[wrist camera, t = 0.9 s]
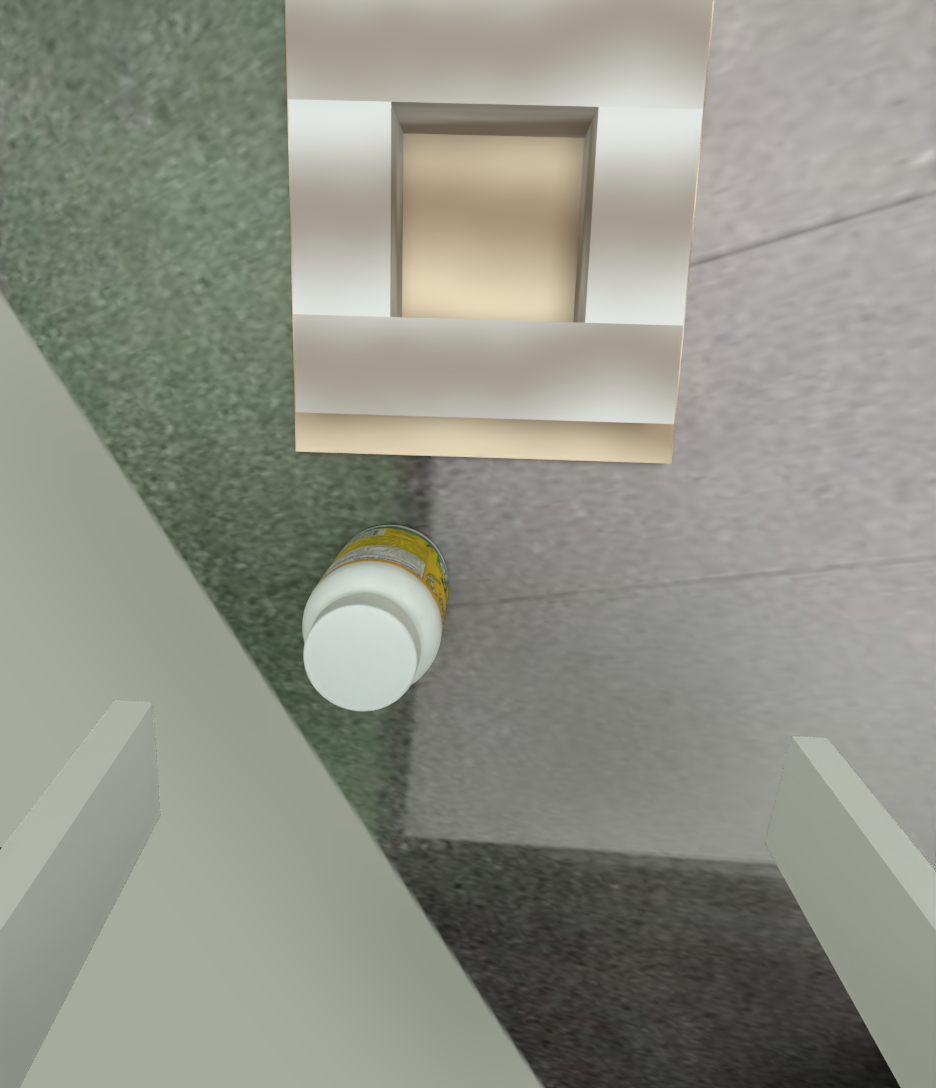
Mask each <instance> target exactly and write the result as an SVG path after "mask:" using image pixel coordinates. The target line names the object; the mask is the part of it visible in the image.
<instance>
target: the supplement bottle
mask: <svg viewBox="0 0 936 1088" xmlns="http://www.w3.org/2000/svg"><path fill="white" fill-rule="evenodd" d="M448 594H449V576H448V571H447V568H446V565H445V562H444V559H443V557H442V555H441V553H440V551H439V550H438V548H437V547H436V546H435V544H434V543H433V542H432V541H431V540H430V539H429V538H427V537H426V536H425V535H423V534H422V533H420V532H418V531H416V530H414V529H411V528H408V527H405V526H401V525H380V526H375V527H372V528H369V529H366V530H364V531H362V532H360V533H359V534H357V535H356V536H354V537H353V538H352V539H351V540H350V541H349V542H348V543H347V544H346V545H345V546H344V548H343V549H342V550H341V551H340V553H339V554H338V556H337V557H336V559H335V560H334V562H333V563H332V565H331V566H330V567H329V569H328V570H327V572H326V573H325V574H324V576H323V577H322V578H321V580H320V581H319V583H318V584H317V586H316V587H315V589H314V590H313V592H312V593H311V595H310V597H309V599H308V601H307V604H306V607H305V610H304V615H303V622H302V630H303V638H304V643H305V644H304V653H303V658H304V666H305V670H306V673H307V675H308V678H309V680H310V681H311V683H312V685H313V686H314V687H315V689H316V690H317V691H318V692H319V693H320V694H321V695H322V696H323V697H324V698H326V699H327V700H328V701H330V702H331V703H333V704H335V705H337V706H339V707H342V708H345V709H348V710H353V711H373V710H378V709H381V708H384V707H386V706H389V705H390V704H392V703H394V702H395V701H397V700H398V699H399V698H400V697H401V696H402V695H403V694H404V693H405V692H406V691H407V690H408V688H409V687H410V685H412V684H413V683H415V682H416V681H417V680H419V679H420V678H421V677H422V676H423V675H424V674H425V672H426V671H427V670H428V669H429V667H430V666H431V664H432V663H433V661H434V659H435V657H436V655H437V653H438V650H439V647H440V643H441V637H442V631H443V624H444V618H445V612H446V606H447V599H448Z"/></svg>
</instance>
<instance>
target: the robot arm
mask: <svg viewBox="0 0 936 1088" xmlns="http://www.w3.org/2000/svg"><path fill="white" fill-rule="evenodd" d="M157 771H158V770H157V755H156V738H155V723H154V708H153V702H137V701H118V700H114V701H113V703H112V704H111V705H110V707H109V708H108V709H107V711H106V712H105V713H104V714H103V716H102V717H101V718H100V720H99V721H98V722H97V724H96V725H95V726H94V728H93V729H92V730H91V731H90V733H89V734H88V735H87V737H86V738H85V739H84V741H83V742H82V743H81V745H80V746H79V747H78V749H77V750H76V751H75V753H74V754H73V755H72V756H71V758H70V759H69V760H68V762H67V763H66V764H65V766H64V767H63V768H62V770H61V771H60V772H59V774H58V775H57V776H56V777H55V779H54V780H53V781H52V783H51V784H50V785H49V787H48V788H47V789H46V791H45V792H44V793H43V794H42V796H41V797H40V798H39V800H38V801H37V802H36V804H35V805H34V806H33V808H32V809H31V810H30V812H29V813H28V814H27V815H26V817H25V818H24V819H23V821H22V822H21V824H20V825H19V826H18V827H17V829H16V830H15V831H14V833H13V834H12V835H11V836H10V838H9V839H8V840H7V842H6V843H5V844H4V846H3V847H2V848H0V1088H20V1086H21V1084H22V1082H23V1080H24V1078H25V1076H26V1074H27V1072H28V1071H29V1069H30V1067H31V1065H32V1063H33V1061H34V1059H35V1057H36V1055H37V1053H38V1051H39V1049H40V1047H41V1045H42V1044H43V1041H44V1040H45V1038H46V1036H47V1034H48V1032H49V1030H50V1028H51V1026H52V1024H53V1022H54V1020H55V1019H56V1016H57V1014H58V1013H59V1011H60V1009H61V1007H62V1005H63V1003H64V1001H65V999H66V997H67V995H68V993H69V991H70V990H71V988H72V986H73V984H74V982H75V980H76V978H77V976H78V974H79V972H80V970H81V968H82V966H83V964H84V962H85V961H86V959H87V957H88V955H89V953H90V951H91V949H92V947H93V945H94V943H95V941H96V939H97V937H98V935H99V933H100V932H101V929H102V928H103V926H104V924H105V922H106V920H107V918H108V916H109V914H110V912H111V910H112V908H113V906H114V905H115V903H116V901H117V899H118V897H119V895H120V893H121V891H122V889H123V887H124V885H125V883H126V881H127V879H128V877H129V876H130V873H131V872H132V870H133V868H134V866H135V864H136V862H137V860H138V858H139V856H140V854H141V852H142V850H143V849H144V846H145V845H146V843H147V841H148V839H149V837H150V835H151V833H152V831H153V829H154V827H155V825H156V823H157V821H158V820H159V818H160V803H159V786H158V772H157ZM765 845H766V846H767V848H768V850H769V852H770V854H771V855H772V857H773V859H774V861H775V863H776V864H777V866H778V868H779V870H780V872H781V873H782V875H783V877H784V879H785V881H786V882H787V884H788V886H789V888H790V890H791V891H792V893H793V895H794V897H795V899H796V900H797V902H798V904H799V906H800V908H801V909H802V911H803V913H804V915H805V917H806V918H807V920H808V922H809V924H810V926H811V927H812V929H813V931H814V933H815V935H816V936H817V938H818V940H819V942H820V944H821V945H822V947H823V949H824V951H825V953H826V954H827V956H828V958H829V960H830V962H831V963H832V965H833V967H834V969H835V971H836V972H837V974H838V976H839V978H840V980H841V981H842V983H843V985H844V987H845V988H846V990H847V992H848V994H849V996H850V997H851V999H852V1001H853V1003H854V1005H855V1006H856V1008H857V1010H858V1012H859V1014H860V1015H861V1017H862V1019H863V1021H864V1023H865V1024H866V1026H867V1028H868V1030H869V1032H870V1033H871V1035H872V1037H873V1039H874V1041H875V1042H876V1044H877V1046H878V1048H879V1050H880V1051H881V1053H882V1055H883V1057H884V1059H885V1060H886V1062H887V1064H888V1066H889V1068H890V1069H891V1071H892V1073H893V1075H894V1077H895V1078H896V1080H897V1082H898V1084H899V1086H900V1087H901V1088H936V871H935V870H934V869H933V867H932V866H931V865H930V864H929V863H928V861H927V860H926V859H925V858H924V856H923V855H922V854H921V853H920V851H919V850H918V849H917V848H916V847H915V845H914V844H913V843H912V842H911V840H910V839H909V838H908V837H907V835H906V834H905V833H904V832H903V831H902V829H901V828H900V827H899V826H898V824H897V823H896V822H895V821H894V819H893V818H892V817H891V816H890V815H889V813H888V812H887V811H886V810H885V808H884V807H883V806H882V805H881V804H880V802H879V801H878V800H877V799H876V797H875V796H874V795H873V794H872V792H871V791H870V790H869V789H868V788H867V786H866V785H865V784H864V783H863V781H862V780H861V779H860V778H859V776H858V775H857V774H856V773H855V772H854V770H853V769H852V768H851V767H850V765H849V764H848V763H847V762H846V760H845V759H844V758H843V757H842V756H841V754H840V753H839V752H838V751H837V749H836V748H835V747H834V746H833V744H832V743H831V742H830V741H829V740H828V738H821V737H802V736H791V740H790V744H789V748H788V752H787V756H786V760H785V764H784V768H783V772H782V776H781V780H780V784H779V788H778V792H777V796H776V800H775V804H774V808H773V812H772V816H771V820H770V824H769V828H768V832H767V836H766V840H765Z"/></svg>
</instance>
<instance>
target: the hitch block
mask: <svg viewBox="0 0 936 1088" xmlns="http://www.w3.org/2000/svg"><path fill="white" fill-rule="evenodd" d="M713 9H714V0H285V29H286V70H287V111H288V152H289V192H290V233H291V274H292V315H293V356H294V396H295V437H296V452H326V453H358V454H389V455H420V456H451V457H483V458H514V459H545V460H576V461H607V462H639V463H670V464H672V453H673V442H674V431H675V420H676V410H677V399H678V388H679V377H680V366H681V355H682V345H683V334H684V323H685V312H686V301H687V291H688V280H689V269H690V258H691V247H692V236H693V226H694V215H695V204H696V193H697V182H698V171H699V161H700V150H701V139H702V128H703V117H704V106H705V96H706V85H707V74H708V63H709V52H710V42H711V31H712V20H713Z"/></svg>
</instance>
